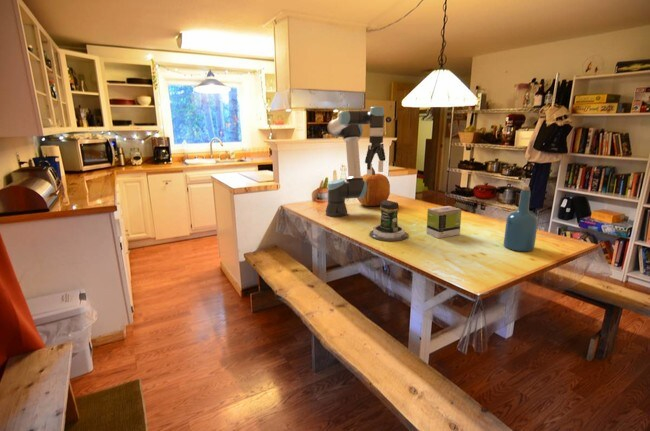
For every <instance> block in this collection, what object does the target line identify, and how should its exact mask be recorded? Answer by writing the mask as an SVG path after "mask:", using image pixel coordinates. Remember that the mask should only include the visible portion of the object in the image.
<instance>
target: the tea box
mask: <svg viewBox="0 0 650 431" xmlns="http://www.w3.org/2000/svg"><path fill="white" fill-rule="evenodd" d="M426 216H427V217H426V218H427V220H426V234H427V235H429V236H432V237H434V238H437V239H441V238H446V237H452V236H453V237H454V236H459V235H460V234H461V225H462V224H461V222H462V209H461V208H459V207H455V206H451V205H446V206H445V205H444V206H439V207H438V206H437V207H436V206H435V207H431V208H427V215H426Z"/></svg>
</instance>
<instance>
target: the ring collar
mask: <svg viewBox="0 0 650 431" xmlns="http://www.w3.org/2000/svg"><path fill="white" fill-rule="evenodd" d="M368 236H369V238H371V239H374V240H375V241H380V242H400V241H404V240H406V239H408V238H409V233H408V232H407V231H406V229H405V227H403V226H401V225H398V232H394V233H389V232H381V231H380V224H376V225H375V226H373V227H372V230H371V231H370V232H369V235H368Z"/></svg>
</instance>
